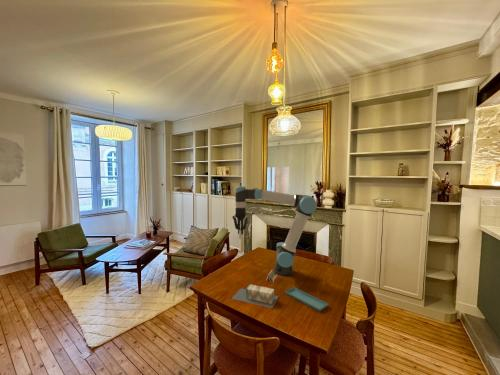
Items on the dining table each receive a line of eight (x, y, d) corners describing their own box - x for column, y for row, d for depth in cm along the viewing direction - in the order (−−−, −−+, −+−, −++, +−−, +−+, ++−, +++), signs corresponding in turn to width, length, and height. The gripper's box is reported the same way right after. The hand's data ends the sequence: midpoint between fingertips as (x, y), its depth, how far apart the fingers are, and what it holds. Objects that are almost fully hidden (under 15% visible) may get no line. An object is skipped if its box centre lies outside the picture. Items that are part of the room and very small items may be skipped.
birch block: (246, 288, 137) (271, 293, 131) (249, 284, 142) (274, 289, 137) (246, 298, 137) (271, 303, 131) (249, 293, 143) (273, 298, 137)
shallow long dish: (284, 294, 144) (284, 290, 144) (293, 289, 150) (293, 286, 150) (319, 313, 124) (320, 309, 123) (329, 307, 129) (329, 303, 129)
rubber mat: (231, 299, 136) (231, 298, 136) (240, 288, 149) (240, 288, 149) (272, 308, 127) (272, 308, 127) (278, 296, 140) (278, 296, 140)
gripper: (230, 207, 164) (230, 239, 165) (246, 208, 160) (246, 240, 161) (234, 206, 171) (234, 236, 172) (250, 207, 167) (250, 238, 168)
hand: (240, 238), depth 167 cm, fingers closed
